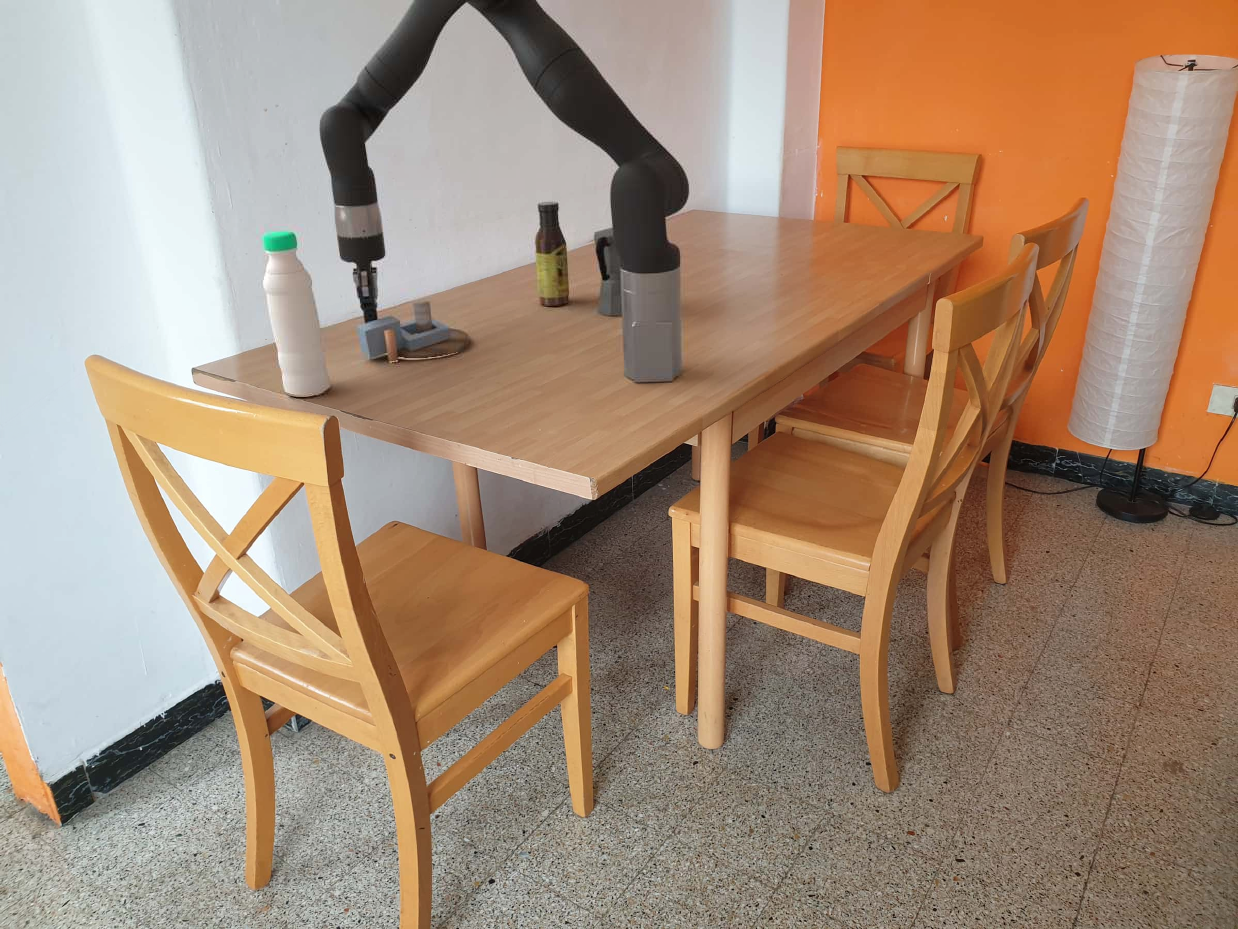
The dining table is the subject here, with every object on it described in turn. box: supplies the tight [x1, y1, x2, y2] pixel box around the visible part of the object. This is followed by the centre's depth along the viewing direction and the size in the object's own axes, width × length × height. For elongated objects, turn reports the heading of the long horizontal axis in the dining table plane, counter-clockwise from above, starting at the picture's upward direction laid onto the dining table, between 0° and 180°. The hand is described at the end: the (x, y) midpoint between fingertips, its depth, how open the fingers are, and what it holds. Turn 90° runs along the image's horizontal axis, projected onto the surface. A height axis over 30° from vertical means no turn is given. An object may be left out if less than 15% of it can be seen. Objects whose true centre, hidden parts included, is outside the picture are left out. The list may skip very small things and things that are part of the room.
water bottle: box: [262, 230, 331, 395], centre depth 147 cm, size 7×7×25 cm
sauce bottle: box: [534, 201, 570, 307], centre depth 190 cm, size 7×6×20 cm
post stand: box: [397, 300, 470, 358], centre depth 169 cm, size 15×15×8 cm
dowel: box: [384, 329, 399, 362], centre depth 163 cm, size 2×2×6 cm
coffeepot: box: [593, 227, 622, 318], centre depth 182 cm, size 15×9×18 cm, turn 156°
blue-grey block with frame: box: [356, 315, 451, 359], centre depth 167 cm, size 14×8×5 cm, turn 128°
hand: (372, 329), depth 167 cm, fingers closed
